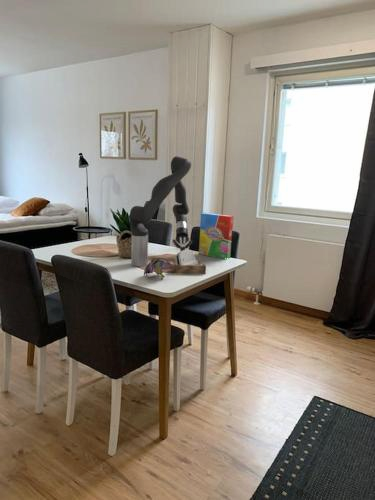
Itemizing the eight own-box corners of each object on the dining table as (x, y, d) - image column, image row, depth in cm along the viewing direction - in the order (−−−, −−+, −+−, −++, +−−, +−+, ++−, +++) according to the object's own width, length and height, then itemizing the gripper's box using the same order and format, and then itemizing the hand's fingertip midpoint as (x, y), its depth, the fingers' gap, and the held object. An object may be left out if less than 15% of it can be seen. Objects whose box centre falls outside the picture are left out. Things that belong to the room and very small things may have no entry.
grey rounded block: (184, 269, 206) (179, 252, 205) (177, 270, 208) (172, 253, 208) (198, 263, 220) (194, 247, 220) (191, 264, 222) (187, 248, 222)
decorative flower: (164, 254, 196) (169, 252, 182) (171, 275, 196) (177, 275, 182) (138, 263, 193) (141, 261, 178) (145, 284, 193) (149, 284, 178)
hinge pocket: (174, 273, 197) (174, 265, 196) (173, 269, 204) (173, 261, 203) (205, 273, 199) (206, 265, 198) (203, 270, 206) (204, 262, 205)
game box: (198, 254, 243) (200, 213, 237) (202, 252, 248) (204, 212, 242) (227, 259, 233) (230, 216, 227) (230, 257, 238) (233, 215, 232)
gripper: (171, 226, 230) (172, 250, 220) (192, 226, 231) (194, 250, 222) (170, 233, 236) (171, 256, 227) (191, 233, 238) (193, 256, 228)
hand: (183, 253), depth 224 cm, fingers closed
